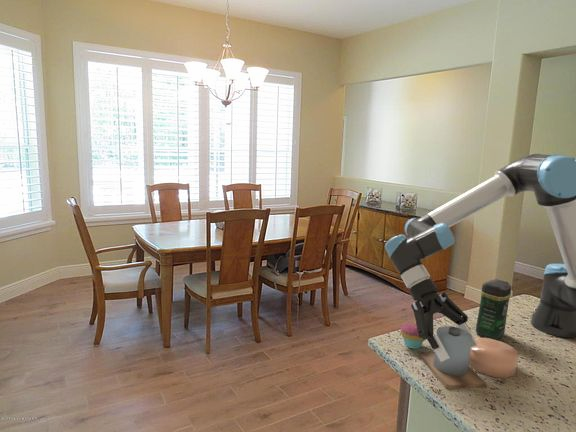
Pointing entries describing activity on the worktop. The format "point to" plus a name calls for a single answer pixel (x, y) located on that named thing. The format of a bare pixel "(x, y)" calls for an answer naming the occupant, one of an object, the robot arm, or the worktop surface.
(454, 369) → the blue-grey knobbed jar
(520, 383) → the worktop surface
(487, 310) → the coffee jar
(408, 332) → the cupcake
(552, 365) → the worktop surface
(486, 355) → the peach round dome
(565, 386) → the worktop surface
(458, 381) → the mat
